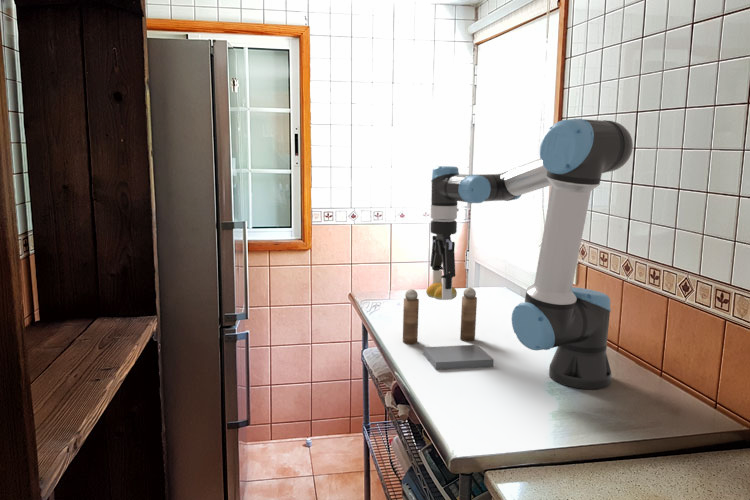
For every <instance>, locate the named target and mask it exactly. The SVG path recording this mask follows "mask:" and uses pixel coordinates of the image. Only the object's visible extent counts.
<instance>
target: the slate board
mask: <svg viewBox="0 0 750 500" xmlns="http://www.w3.org/2000/svg"><path fill="white" fill-rule="evenodd" d="M422 354H423V356H424V357H425V358H426V359H427V361H428V362H429V363H430V364H431V366H432V367H433V368H434V370H435V371H437V370H452V369H454V370H455V369H470V368H471V369H473V368H474V369H475V368H487V367H488V368H490V367H491V368H492V367H494V358H493V357H492V356H491V355H489V353H487V352H486V351H485V350H484V349H483V348H482V347H481V346H480V345H479V344H465V345H464V344H463V345H443V346H441V345H440V346H425V347H424V346H423V353H422Z"/></svg>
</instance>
